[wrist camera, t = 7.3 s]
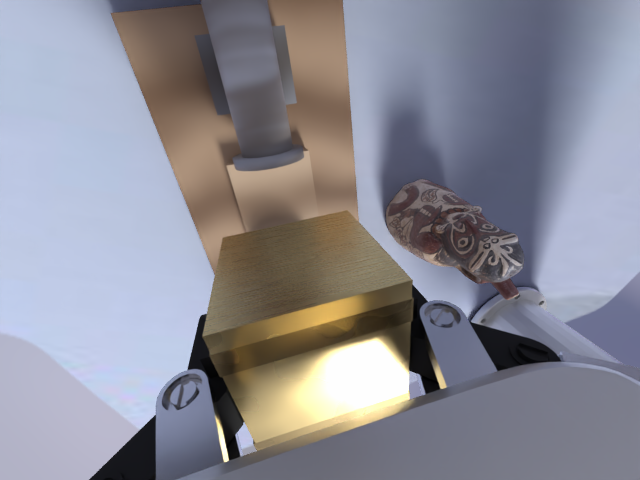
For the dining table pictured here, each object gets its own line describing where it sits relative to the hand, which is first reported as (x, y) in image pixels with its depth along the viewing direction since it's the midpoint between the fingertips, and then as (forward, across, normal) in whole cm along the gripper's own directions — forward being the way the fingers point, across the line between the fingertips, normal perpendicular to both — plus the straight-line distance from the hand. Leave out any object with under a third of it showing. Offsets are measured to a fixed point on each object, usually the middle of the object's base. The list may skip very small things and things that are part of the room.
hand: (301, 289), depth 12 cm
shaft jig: (+14, 0, 0) cm, 14 cm away
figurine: (+14, -14, +5) cm, 21 cm away
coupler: (+1, 0, 0) cm, 1 cm away
